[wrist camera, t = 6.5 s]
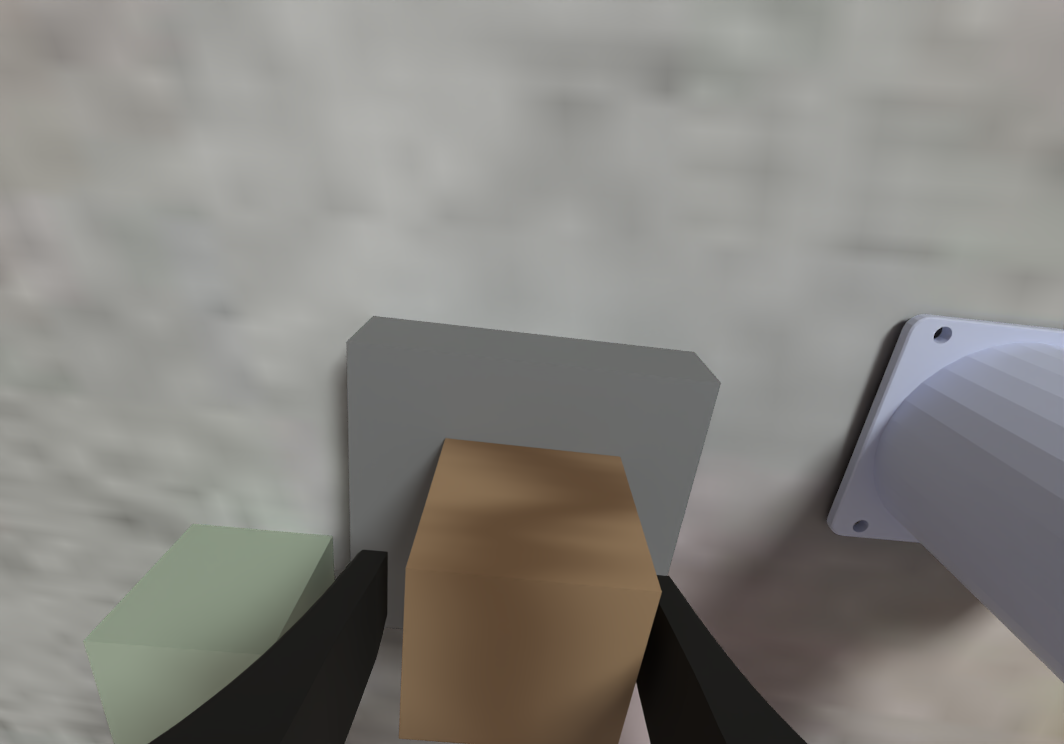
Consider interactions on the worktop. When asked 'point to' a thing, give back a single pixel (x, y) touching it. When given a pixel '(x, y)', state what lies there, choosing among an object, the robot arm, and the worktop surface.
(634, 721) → the smoothie
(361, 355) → the charcoal slab
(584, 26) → the worktop surface
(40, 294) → the worktop surface
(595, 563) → the walnut cube
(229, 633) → the sage block
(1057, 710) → the worktop surface
